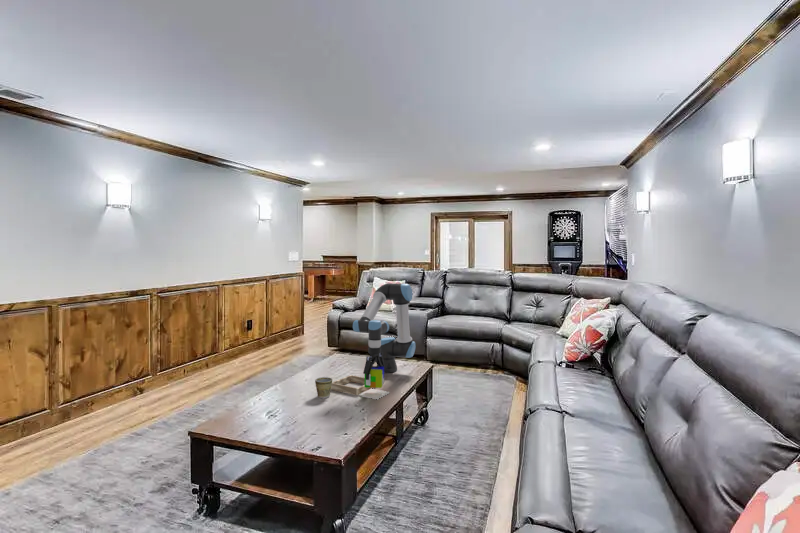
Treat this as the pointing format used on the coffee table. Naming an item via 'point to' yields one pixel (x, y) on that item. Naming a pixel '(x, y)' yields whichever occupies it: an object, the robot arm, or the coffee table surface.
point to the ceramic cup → (323, 387)
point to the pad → (374, 393)
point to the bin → (341, 387)
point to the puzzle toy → (376, 377)
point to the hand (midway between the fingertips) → (374, 382)
